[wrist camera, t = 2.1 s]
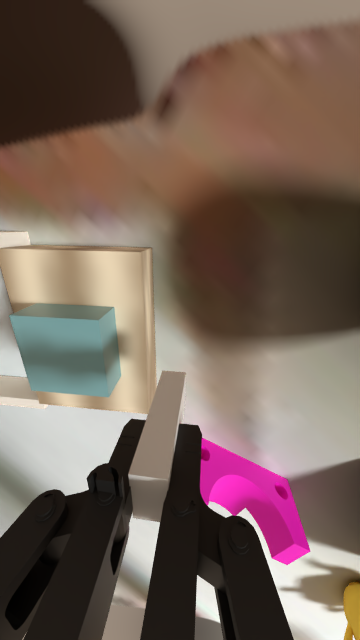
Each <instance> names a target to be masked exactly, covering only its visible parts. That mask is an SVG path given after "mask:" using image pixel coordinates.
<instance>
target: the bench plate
mask: <svg viewBox="0 0 360 640" xmlns="http://www.w3.org/2000/svg"><path fill="white" fill-rule="evenodd" d="M0 267H1V271H2V274H3V278H4V281H5V285H6V288H7V292H8V295H9V299H10V302H11V306H12V309H13V313H15V312H18V311H20V310H22V309H24V308H27V307H29V306H31V305H33V304H36V303H46V304H67V305H87V306H107V307H114V309H115V318H116V328H117V338H118V348H119V357H120V367H121V377H120V379H119V381H118V383H117V384H116V386H115V388H114V390H113V391H112V393H111V395H110V397H99V396H87V395H76V394H65V393H54V392H42V391H36V393H37V397H38V400H39V404H47V405H58V406H68V407H79V408H89V409H100V410H111V411H121V412H132V413H142V414H148V413H149V410H150V407H151V404H152V401H153V398H154V395H155V392H156V389H157V382H156V352H155V321H154V290H153V259H152V248H139V247H96V246H52V245H26V246H15V247H5V248H0Z"/></svg>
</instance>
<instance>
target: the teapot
mask: <svg viewBox="0 0 360 640" xmlns="http://www.w3.org/2000/svg"><path fill="white" fill-rule="evenodd" d="M343 601H344V612H345V616H346V619H347V621H348V625H347V628H346V632H345V636H344V640H352V638H353V635H354V638H355V640H360V583H359V582H351V583H349V586H347V587H346V588H345V591H344V599H343Z"/></svg>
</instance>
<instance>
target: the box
mask: <svg viewBox="0 0 360 640" xmlns="http://www.w3.org/2000/svg"><path fill="white" fill-rule="evenodd" d="M26 245H31V244H30V240H29V235H28V232H14V231H0V248H5V247H15V246H26ZM0 405H9V406H19V407H30V408H40V409H45V408H46V407H47V406H48V405H47V404H39V400H38V397H37V393H36V391H31V388H30V384H29V381H28V378H24V377H12V376H0Z"/></svg>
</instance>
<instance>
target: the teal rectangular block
mask: <svg viewBox="0 0 360 640" xmlns="http://www.w3.org/2000/svg"><path fill="white" fill-rule="evenodd" d="M9 317H10V320H11V323H12V327H13V330H14V334H15V337H16V340H17V344H18V347H19V351H20V354H21V357H22V361H23V364H24V368H25V371H26V374H27V378H28V381H29V384H30V388H31V391H42V392H54V393H65V394H76V395H87V396H99V397H110V395H111V393H112V391H113V390H114V388H115V386H116V384H117V383H118V381H119V379H120V377H121V367H120V357H119V348H118V338H117V328H116V318H115V309H114V307H107V306H87V305H67V304H46V303H36V304H33V305H31V306H29V307H27V308H24V309H22V310H20V311H18V312H15V313H13V314H11V315H9Z"/></svg>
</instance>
